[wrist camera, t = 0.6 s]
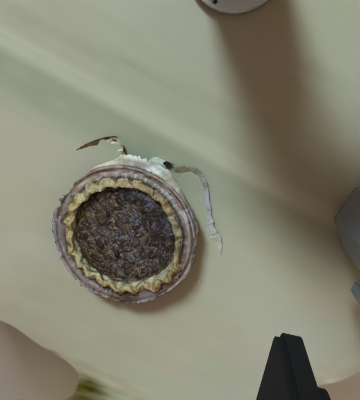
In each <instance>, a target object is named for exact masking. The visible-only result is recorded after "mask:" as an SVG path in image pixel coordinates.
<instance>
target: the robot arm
mask: <svg viewBox="0 0 360 400" xmlns="http://www.w3.org/2000/svg"><path fill="white" fill-rule="evenodd" d="M201 1H202V2H203V3H204V4H205V5H206V6H208V7H210V8H211V9H213V10H215V11H218V12H221V13H226V14H240V13H246V12H249V11H252V10H254V9H256V8H258V7H260V6H262V5H263V4H264V3H266V2H267V1H268V0H216V1H217V4H214V3H213V2H214V1H215V0H201ZM256 400H331V399H330V397H329V394H328V392H327V391H326V390H325V389H322V388H319V387H317V384H316V381H315V378H314V374H313V371H312V368H311V365H310V362H309V359H308V355H307V352H306V349H305V346H304V343H303V340H302V338H301V337H299V336H295V335H290V334H286V333H282V334H281V336H280V337H277V336H275V337H274V340H273V343H272V346H271V350H270V353H269V357H268V360H267V364H266V367H265V371H264V374H263V378H262V381H261V385H260V388H259V391H258V395H257V398H256Z"/></svg>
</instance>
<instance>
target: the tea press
mask: <svg viewBox="0 0 360 400" xmlns="http://www.w3.org/2000/svg"><path fill="white" fill-rule="evenodd" d="M335 222H336V226H337V230H338V233H339V237H340V241H341V245H342V249H343V251H344V252H345V253H346V254H347V256H348V257H349V258H350V260H351V261H352V262H353V263H354V265H355V266H356V267H357V268H358V270H359V271H360V187H358V188H355V189H354V190H353V192H352V193H351V195H350V196H349V198H348V199H347V201H346V202H345V204H344V205H343V207H342V208H341V210H340V211H339V213H338V214H337V216H336V217H335ZM350 290H351V292H352V293H353V295H354V296H355V298H356V299H357V301H358V302H359V304H360V280H359V281H358V282H357V283H355V284H354V285H353V287H352V288H351V289H350Z"/></svg>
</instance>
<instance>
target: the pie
mask: <svg viewBox="0 0 360 400" xmlns="http://www.w3.org/2000/svg"><path fill="white" fill-rule="evenodd" d="M101 139H106V141H107V142H109V141H111V140H112V139H116V142H112V143H111V144H114V143H116V144H119V145H122V143H121V141H120V139H119V138H118V137H116V136H112V137H105V138H101ZM101 139H98V140H95V141H92V142H90V143H87V144H85V145H84V146H82V147H80V148H78V149H77V150H79V149H82V148H85V147H88V146H94V145H98V144H99V141H100V140H101ZM122 147H123V145H122ZM123 148H124V147H123ZM123 148H122V149H119V150H117V151H120V152H122V154H121V155H120V156H119V157H118V158H116V159H114V160H112V161H109V162H106V163H103V164H101V165H98V166H96V167H93V168H91V169H90V170H89V171H88V172H87V173H86V174H85V176H84V177H82V178H79V179H78V180H77V182H74V186H73V188H72V189H71V190H70V192H69V193H68V194H67V195H65V196H64V194H63V196H64V198H62V199H61V198H60V199H59V200H60V201H61V202H60V203H61V206H60V207H58V208H57V209H56V210H55V211H54V214H53V220H52V221H53V228H52V232H53V234H54V238H55V240H56V241H55V243H56V246H57V249H58V251H59V252H60V257H61V260H62V261H63V263H64V265H65V266H66V268H67V270H68V272H69V273H71V275H72V276H74V278H75V280H76V279H79V280H80V281H79V282H82V283H81V284H80V286H84V287H87V288H88V290H89V291H91V292H93V293H95V294H96V295H97V294H99V295H100V296H102V298H106V300H107V299H108V298H110V297H113V299H114V300H116V301H119V300H121V302H123V303H127V304H128V303H129V302H132V303H133V304H134V303H136V302H137V304H139V303H140V302H147V301H149V300H151V301H154V300H155V299H156V298H157V297H159V296H161V295H164V294H165V293H166V292H169V291H171V290H173V289H174V288H175V287H176V286H177V285H178V284H179V283H180V282H181V281H182V280H184V279H185V278H186V276H187V275H188V273H189V272H190V270H191V267H192V264H193V262H194V260H195V257H196V246H197V241H198V233H199V224H198V222H197V220H196V217H195V214H194V212H193V210H192V209H191V207H190V205H189V203H188V202H187V200H186V198H185V196H184V194H183V192H182V191H181V189H180V187H179V186H178V184H177V183H176V181H175V180H174V178H173V176H172V175H171V173H170V171H169V170H168V169H167V168H166V166H165V165H163V162H165V160H162V159H160V158H158V157H154V158H152V159H150V160H149V161H147V158H144V159H142V160H141V158H140V155H139V157H137V156H136V155H135V156H134V157H133V156H132V155H129V154H128V155H125V153H124V151H123ZM166 162H168V161H166ZM168 163H170V162H168ZM170 164H171V165H172V171H173V172H178V173H181V172H184V171H191V172H193V173H195V174H197V175H198V176H199V177H200V179H201V181H202V183H203V186H204V203H205V206H206V209H207V213H208V217H207V221H206V226H207V230H208V232H209V234H210V237H211V239H213V240H214V241H215V242H216V244H217V247H218V252H219V257H220V254H221V250H222V242H221V236H220V234H218V233H217V230H216V229H215V228H214V227H213V226H214V225H213V222H214V220H213V218H212V217H211V208H210V207H211V204H210V202H209V196H210V195H208V194H209V192H208V190H209V188H208V186H207V184H208V183H207V182H206V179H205V178H204V177H203V176H202V174H201V172H200V171H199V170H197V169H194V168H191V167H189V168H187V167H185V166H183V167H176V166H175V165H174V164H172V163H170ZM198 282H200V281H199V280H198Z"/></svg>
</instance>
